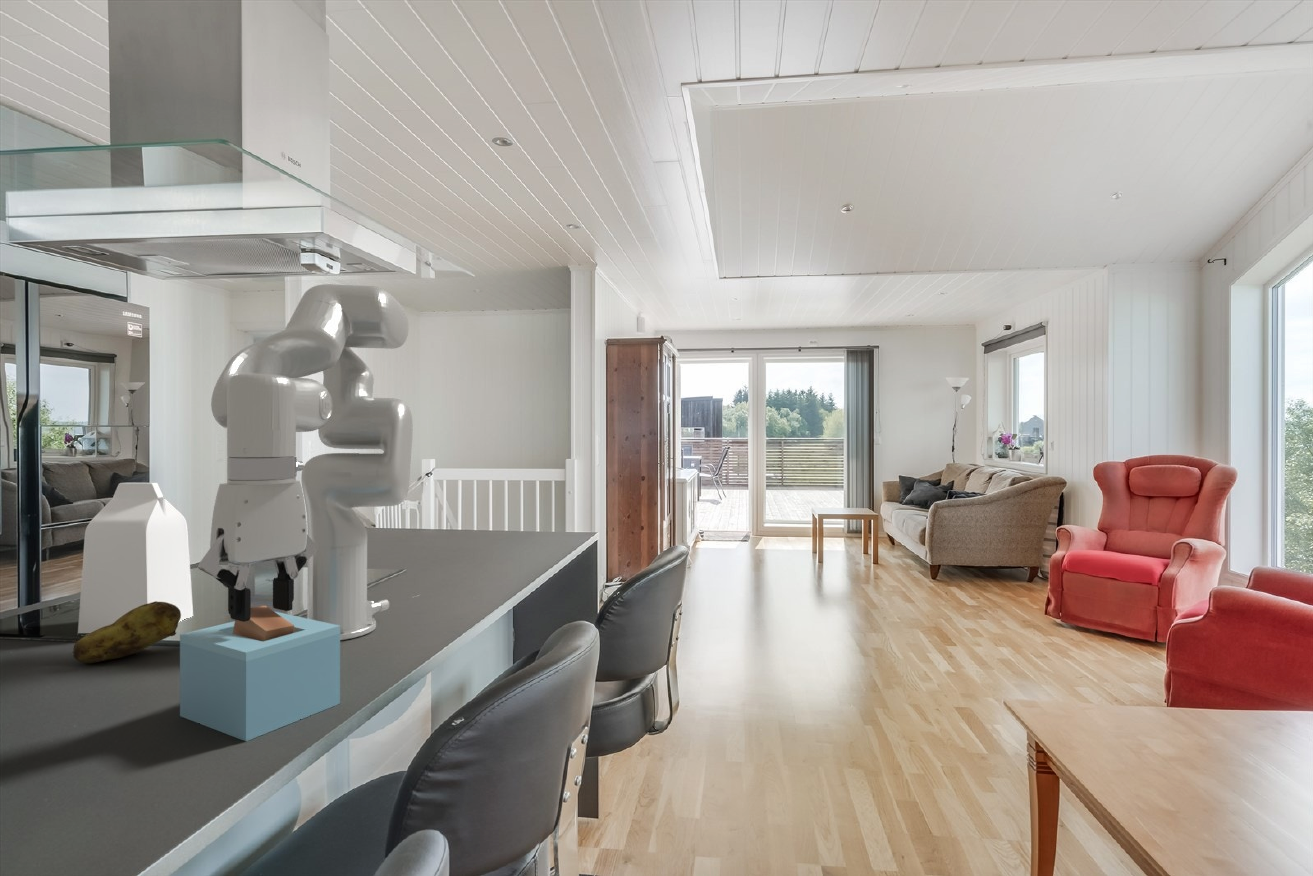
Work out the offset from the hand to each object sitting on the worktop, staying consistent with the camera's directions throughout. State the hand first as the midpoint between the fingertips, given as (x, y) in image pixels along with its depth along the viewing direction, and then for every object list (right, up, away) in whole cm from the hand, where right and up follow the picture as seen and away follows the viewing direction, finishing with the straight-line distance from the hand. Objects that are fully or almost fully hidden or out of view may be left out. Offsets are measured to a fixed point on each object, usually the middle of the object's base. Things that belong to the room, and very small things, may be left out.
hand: (262, 613), depth 84 cm
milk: (-44, -12, +36) cm, 58 cm away
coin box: (0, -12, 0) cm, 12 cm away
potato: (-33, -12, +20) cm, 40 cm away
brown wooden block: (-1, -6, 0) cm, 6 cm away
